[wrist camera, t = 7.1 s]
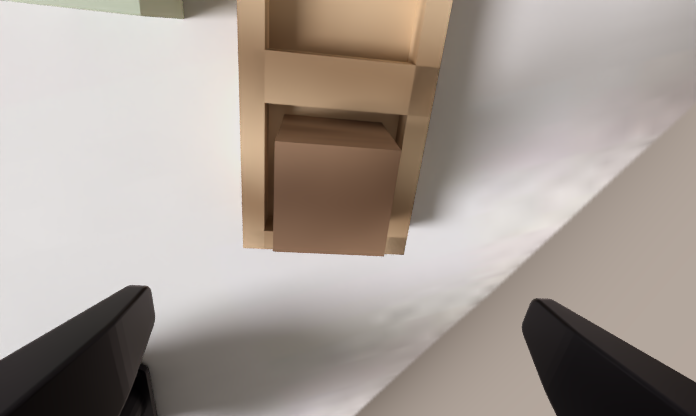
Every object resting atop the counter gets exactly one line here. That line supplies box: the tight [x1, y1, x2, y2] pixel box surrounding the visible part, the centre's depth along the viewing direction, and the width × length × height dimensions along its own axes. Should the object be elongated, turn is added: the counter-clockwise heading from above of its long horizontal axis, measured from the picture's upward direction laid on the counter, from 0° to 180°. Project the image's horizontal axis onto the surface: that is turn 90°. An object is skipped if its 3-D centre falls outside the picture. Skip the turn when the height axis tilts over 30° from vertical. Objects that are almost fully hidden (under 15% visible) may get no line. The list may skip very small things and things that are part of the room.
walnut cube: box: [273, 114, 401, 256], centre depth 16 cm, size 4×4×4 cm
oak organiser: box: [237, 0, 453, 255], centre depth 16 cm, size 16×8×3 cm, turn 174°
